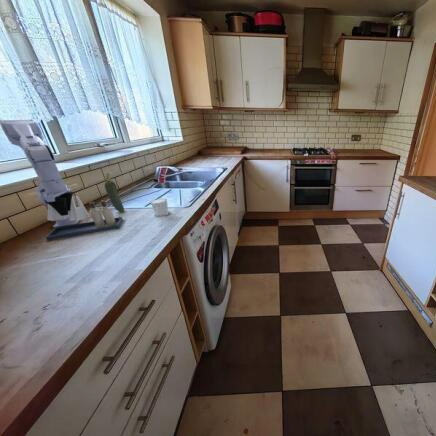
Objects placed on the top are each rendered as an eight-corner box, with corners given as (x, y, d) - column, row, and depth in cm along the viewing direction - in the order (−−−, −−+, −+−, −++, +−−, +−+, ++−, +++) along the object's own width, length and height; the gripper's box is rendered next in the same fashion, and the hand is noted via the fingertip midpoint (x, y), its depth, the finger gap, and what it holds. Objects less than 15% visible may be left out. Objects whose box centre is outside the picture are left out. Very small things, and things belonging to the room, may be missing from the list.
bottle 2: (108, 224, 99) (98, 200, 94) (117, 223, 101) (108, 199, 96) (106, 227, 97) (96, 202, 92) (115, 226, 98) (106, 201, 93)
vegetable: (119, 214, 110) (104, 174, 101) (112, 214, 111) (96, 173, 102) (127, 211, 114) (113, 171, 105) (120, 210, 114) (106, 171, 106)
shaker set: (49, 224, 88) (35, 198, 83) (55, 220, 92) (42, 194, 87) (85, 220, 92) (74, 194, 87) (90, 216, 95) (80, 191, 90)
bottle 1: (97, 226, 98) (87, 201, 93) (106, 224, 99) (97, 200, 94) (95, 229, 95) (85, 204, 90) (105, 227, 97) (95, 203, 92)
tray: (57, 231, 95) (55, 227, 94) (123, 220, 104) (121, 216, 103) (47, 241, 88) (45, 237, 87) (119, 229, 97) (118, 225, 96)
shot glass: (165, 217, 107) (161, 203, 104) (151, 217, 107) (147, 203, 104) (172, 211, 113) (169, 198, 110) (159, 211, 114) (155, 198, 111)
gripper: (57, 183, 80) (73, 218, 86) (72, 173, 92) (85, 204, 98) (30, 186, 77) (49, 221, 83) (49, 175, 89) (64, 207, 95)
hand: (67, 212), depth 90 cm, fingers closed on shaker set, 4 cm apart
